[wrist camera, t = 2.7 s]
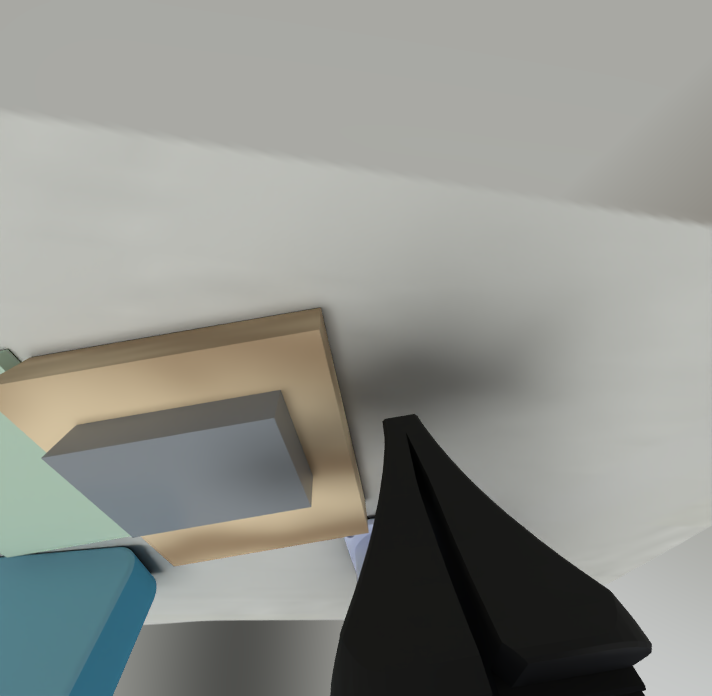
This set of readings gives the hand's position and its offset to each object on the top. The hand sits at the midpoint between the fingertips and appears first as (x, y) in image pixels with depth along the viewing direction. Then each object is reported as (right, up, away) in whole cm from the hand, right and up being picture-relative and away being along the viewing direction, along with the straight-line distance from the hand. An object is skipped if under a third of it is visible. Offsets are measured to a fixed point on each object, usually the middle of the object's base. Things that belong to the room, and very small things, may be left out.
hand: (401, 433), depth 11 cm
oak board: (-8, -2, +3) cm, 9 cm away
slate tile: (-8, -1, +1) cm, 8 cm away
